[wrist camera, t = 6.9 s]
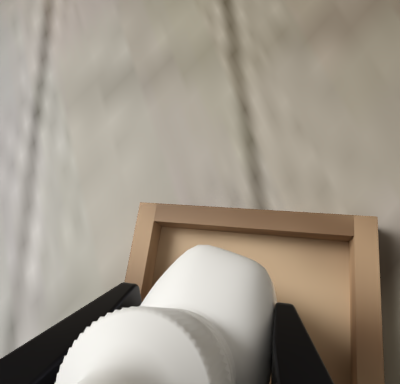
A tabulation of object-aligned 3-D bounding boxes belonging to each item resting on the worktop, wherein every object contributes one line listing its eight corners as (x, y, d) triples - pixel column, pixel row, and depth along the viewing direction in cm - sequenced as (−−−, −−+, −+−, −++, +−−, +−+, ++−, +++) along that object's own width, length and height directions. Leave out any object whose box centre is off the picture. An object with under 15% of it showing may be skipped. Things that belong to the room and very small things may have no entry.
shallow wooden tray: (379, 521, 13) (391, 548, 11) (107, 445, 16) (89, 459, 14) (368, 225, 17) (377, 216, 15) (150, 210, 20) (140, 202, 18)
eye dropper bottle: (319, 340, 13) (504, 456, 2) (217, 438, 13) (-126, 1111, 2) (246, 260, 15) (157, 113, 4) (155, 344, 15) (-209, 426, 4)
